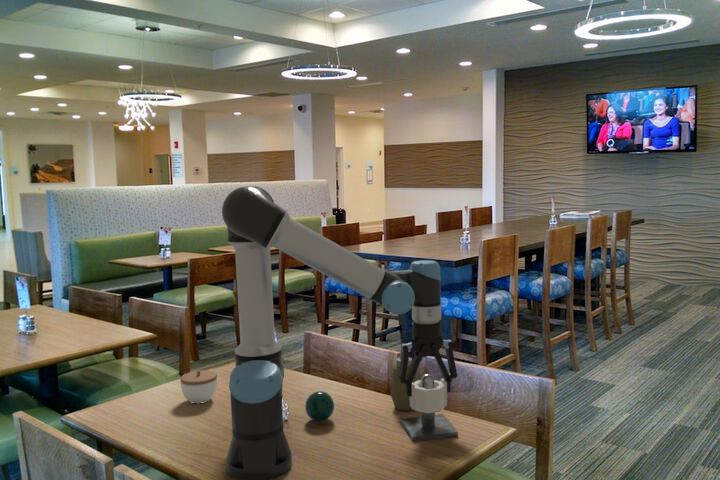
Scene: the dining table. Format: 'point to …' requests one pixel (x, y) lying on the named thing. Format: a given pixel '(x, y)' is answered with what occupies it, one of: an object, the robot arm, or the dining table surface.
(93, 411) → the dining table surface
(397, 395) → the squeeze bottle
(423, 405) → the ring
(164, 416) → the dining table surface
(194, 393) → the lidded jar
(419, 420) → the post
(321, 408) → the sphere
